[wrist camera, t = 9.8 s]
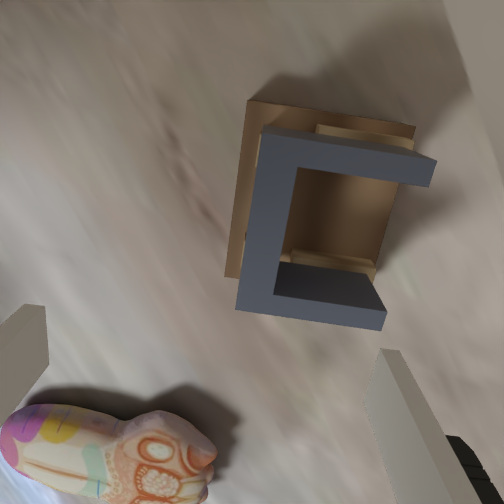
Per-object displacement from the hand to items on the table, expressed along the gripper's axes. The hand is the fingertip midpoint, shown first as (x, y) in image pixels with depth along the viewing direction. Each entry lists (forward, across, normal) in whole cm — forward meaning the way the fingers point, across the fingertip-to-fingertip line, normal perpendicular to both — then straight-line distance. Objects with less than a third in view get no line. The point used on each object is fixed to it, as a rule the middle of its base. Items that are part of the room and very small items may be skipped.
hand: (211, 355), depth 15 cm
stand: (+22, +6, +2) cm, 23 cm away
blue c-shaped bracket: (+17, +6, +2) cm, 18 cm away
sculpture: (+23, -10, -32) cm, 41 cm away
